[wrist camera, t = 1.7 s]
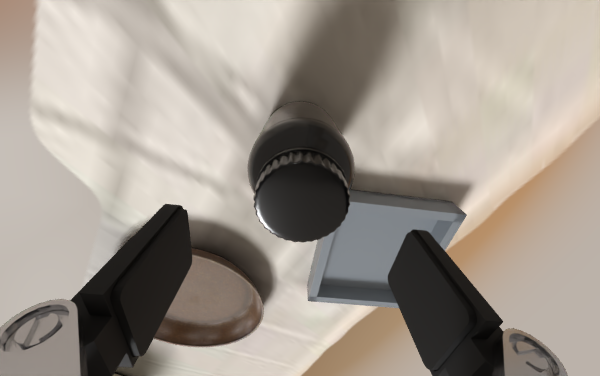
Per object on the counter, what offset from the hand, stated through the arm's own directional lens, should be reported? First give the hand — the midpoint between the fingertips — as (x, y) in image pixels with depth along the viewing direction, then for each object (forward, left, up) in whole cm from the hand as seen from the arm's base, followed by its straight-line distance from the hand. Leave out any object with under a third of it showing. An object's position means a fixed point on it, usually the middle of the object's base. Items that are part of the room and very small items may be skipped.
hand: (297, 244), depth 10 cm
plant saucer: (+23, -12, -14) cm, 30 cm away
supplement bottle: (-1, 0, -14) cm, 14 cm away
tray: (+12, +11, -14) cm, 22 cm away
